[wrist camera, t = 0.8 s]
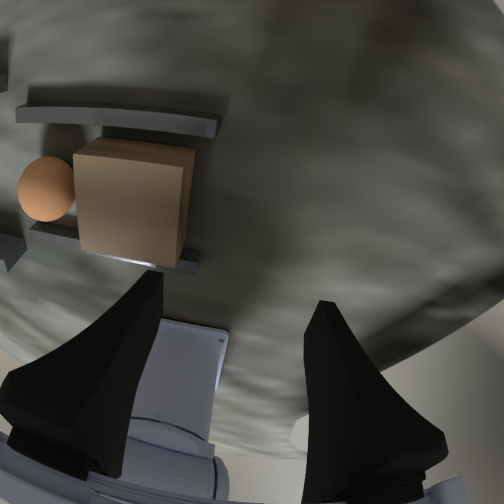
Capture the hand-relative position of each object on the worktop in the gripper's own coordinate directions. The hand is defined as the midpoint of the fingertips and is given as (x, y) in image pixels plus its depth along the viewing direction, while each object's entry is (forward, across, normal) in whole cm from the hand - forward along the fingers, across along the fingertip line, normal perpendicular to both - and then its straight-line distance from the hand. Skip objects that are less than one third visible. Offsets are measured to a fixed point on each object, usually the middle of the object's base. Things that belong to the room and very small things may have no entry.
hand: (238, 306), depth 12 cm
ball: (+6, +12, 0) cm, 14 cm away
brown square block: (+8, +6, 0) cm, 11 cm away
